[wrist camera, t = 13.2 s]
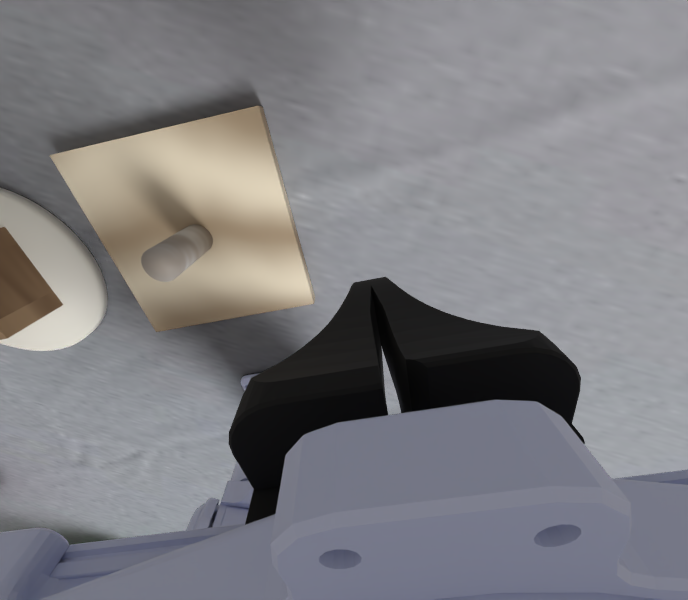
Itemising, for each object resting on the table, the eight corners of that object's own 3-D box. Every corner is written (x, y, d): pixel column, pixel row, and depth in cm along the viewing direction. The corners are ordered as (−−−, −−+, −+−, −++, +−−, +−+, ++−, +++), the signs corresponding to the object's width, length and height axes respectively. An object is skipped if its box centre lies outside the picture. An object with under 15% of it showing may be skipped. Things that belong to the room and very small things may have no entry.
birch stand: (314, 297, 22) (307, 341, 17) (163, 324, 23) (116, 374, 18) (262, 107, 16) (230, 93, 11) (64, 154, 17) (-44, 160, 12)
